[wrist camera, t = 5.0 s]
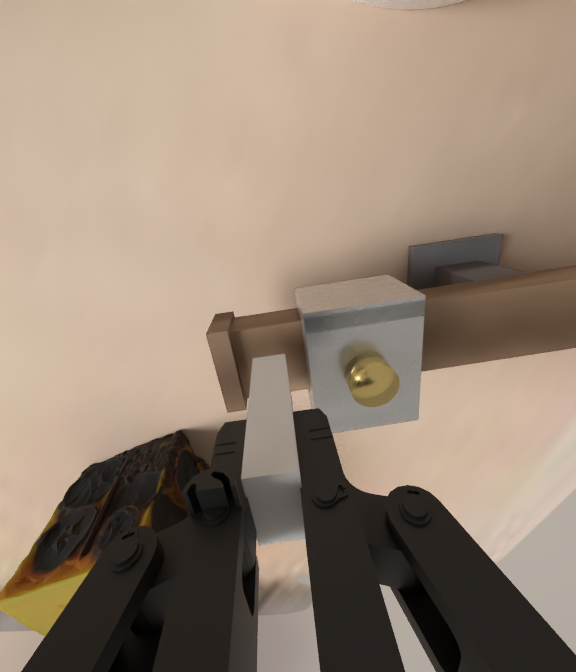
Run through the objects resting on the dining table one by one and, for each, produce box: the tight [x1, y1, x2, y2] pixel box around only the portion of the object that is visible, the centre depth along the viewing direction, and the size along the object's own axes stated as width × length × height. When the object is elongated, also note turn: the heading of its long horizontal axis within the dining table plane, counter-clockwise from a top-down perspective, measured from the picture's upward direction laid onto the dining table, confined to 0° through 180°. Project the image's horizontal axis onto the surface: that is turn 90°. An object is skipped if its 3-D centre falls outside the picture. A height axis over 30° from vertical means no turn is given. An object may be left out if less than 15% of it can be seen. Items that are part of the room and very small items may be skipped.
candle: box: [0, 431, 210, 636], centre depth 23 cm, size 10×10×10 cm
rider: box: [295, 274, 425, 433], centre depth 14 cm, size 6×5×5 cm
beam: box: [206, 233, 576, 413], centre depth 18 cm, size 7×32×8 cm, turn 98°
